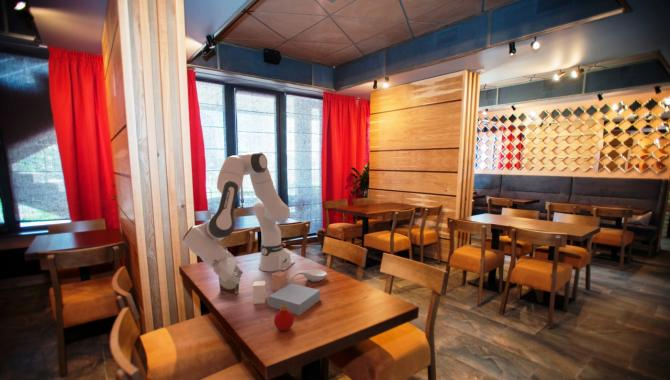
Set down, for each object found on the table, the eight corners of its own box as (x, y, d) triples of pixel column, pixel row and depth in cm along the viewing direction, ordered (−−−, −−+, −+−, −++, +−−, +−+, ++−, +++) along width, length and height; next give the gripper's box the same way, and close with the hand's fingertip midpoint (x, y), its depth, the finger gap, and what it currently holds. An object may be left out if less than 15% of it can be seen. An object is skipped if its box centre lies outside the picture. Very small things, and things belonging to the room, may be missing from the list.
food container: (247, 291, 142) (246, 270, 141) (237, 296, 137) (237, 275, 136) (227, 286, 147) (227, 266, 146) (217, 291, 142) (217, 270, 141)
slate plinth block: (291, 293, 141) (291, 283, 141) (320, 301, 134) (320, 290, 133) (268, 307, 127) (268, 296, 127) (299, 316, 120) (299, 304, 119)
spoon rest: (317, 274, 166) (317, 261, 166) (331, 280, 158) (331, 266, 157) (281, 285, 150) (281, 271, 149) (294, 292, 141) (294, 278, 141)
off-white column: (254, 298, 134) (253, 281, 133) (265, 297, 135) (265, 280, 134) (253, 303, 129) (253, 286, 129) (265, 302, 130) (264, 285, 130)
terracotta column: (278, 286, 148) (278, 271, 147) (286, 288, 145) (286, 272, 145) (272, 290, 143) (272, 274, 143) (280, 292, 141) (280, 276, 140)
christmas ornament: (273, 325, 112) (273, 299, 111) (292, 323, 114) (292, 298, 113) (274, 335, 105) (274, 308, 104) (294, 333, 107) (294, 306, 106)
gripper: (217, 259, 117) (243, 281, 120) (225, 245, 137) (247, 265, 140) (205, 271, 117) (231, 293, 119) (215, 255, 137) (238, 275, 139)
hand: (240, 278), depth 130 cm, fingers open, 8 cm apart
